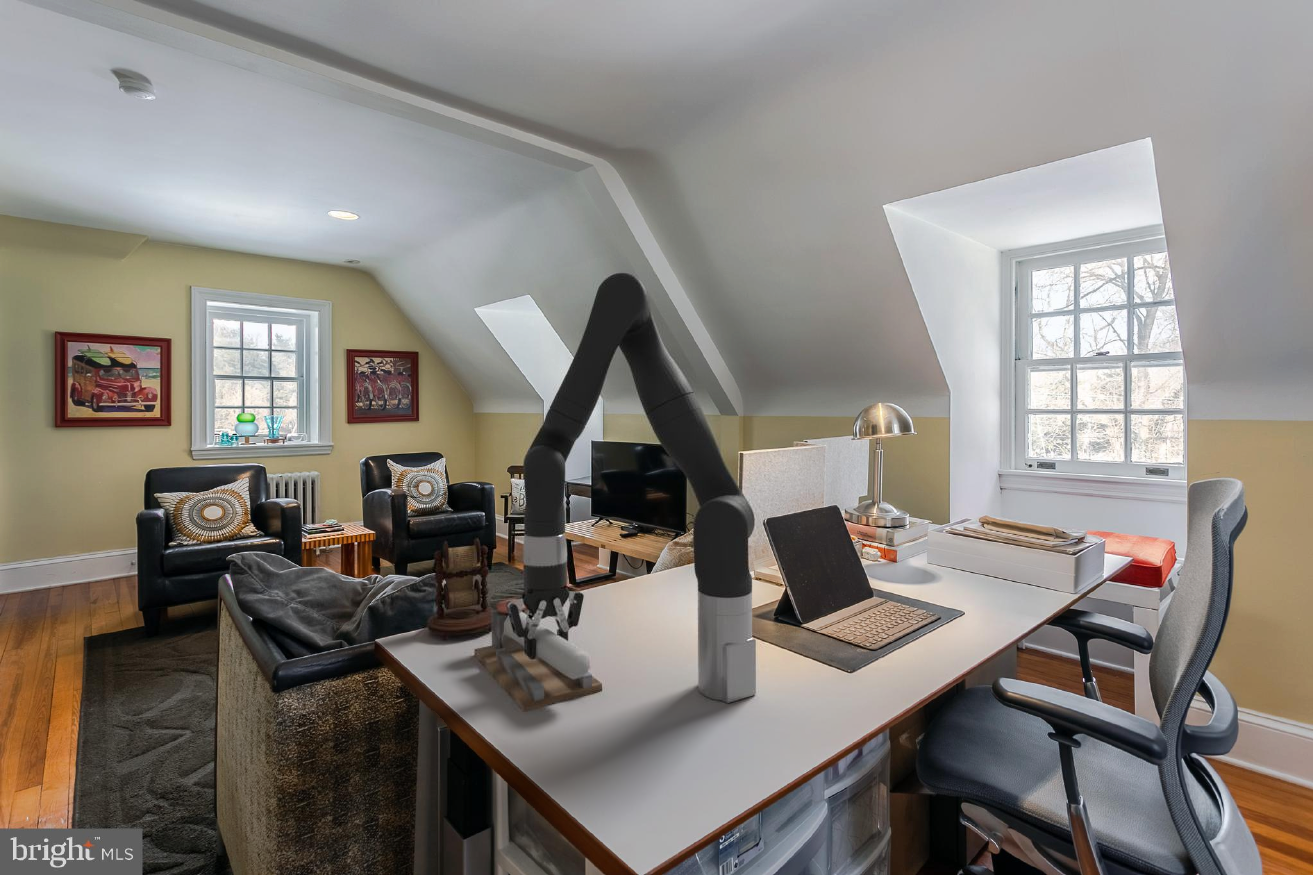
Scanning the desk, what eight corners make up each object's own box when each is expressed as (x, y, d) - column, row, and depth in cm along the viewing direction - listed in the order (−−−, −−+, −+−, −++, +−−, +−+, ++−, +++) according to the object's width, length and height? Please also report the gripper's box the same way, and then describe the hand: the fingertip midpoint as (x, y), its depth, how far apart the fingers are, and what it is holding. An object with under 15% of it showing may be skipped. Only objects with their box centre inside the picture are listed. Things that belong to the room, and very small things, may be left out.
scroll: (488, 615, 151) (486, 531, 150) (505, 634, 138) (503, 542, 137) (422, 625, 144) (420, 537, 143) (433, 646, 131) (431, 550, 130)
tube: (600, 652, 105) (532, 612, 125) (572, 649, 101) (507, 608, 121) (591, 685, 104) (524, 640, 124) (563, 683, 101) (499, 637, 121)
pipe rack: (602, 690, 110) (601, 634, 109) (523, 711, 103) (522, 651, 102) (540, 640, 134) (540, 594, 134) (473, 654, 127) (472, 605, 126)
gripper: (574, 550, 119) (575, 640, 120) (498, 559, 112) (499, 656, 112) (591, 558, 113) (592, 653, 113) (512, 569, 105) (513, 671, 106)
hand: (546, 654), depth 113 cm, fingers closed on tube, 5 cm apart
